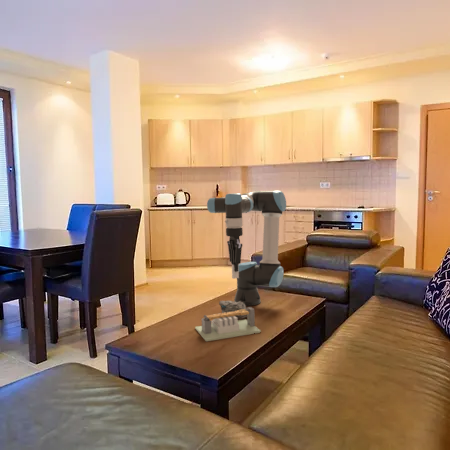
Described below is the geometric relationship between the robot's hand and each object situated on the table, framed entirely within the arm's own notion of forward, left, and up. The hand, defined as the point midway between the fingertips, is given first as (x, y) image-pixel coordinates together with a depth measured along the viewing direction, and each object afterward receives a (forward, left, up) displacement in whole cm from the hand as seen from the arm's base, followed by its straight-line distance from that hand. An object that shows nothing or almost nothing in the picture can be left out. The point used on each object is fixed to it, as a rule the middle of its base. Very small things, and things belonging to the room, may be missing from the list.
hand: (235, 277), depth 179 cm
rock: (-16, +5, -25) cm, 30 cm away
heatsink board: (0, -5, -24) cm, 25 cm away
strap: (0, -5, -17) cm, 18 cm away
